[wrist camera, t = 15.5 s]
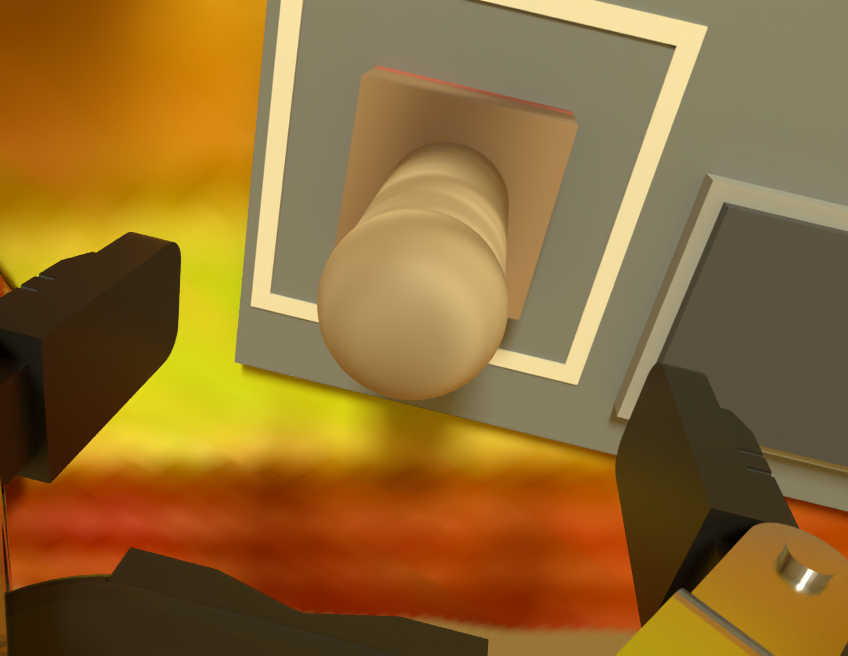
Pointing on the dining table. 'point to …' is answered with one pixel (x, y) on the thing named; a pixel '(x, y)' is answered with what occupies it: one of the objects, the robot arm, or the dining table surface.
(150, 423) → the dining table surface
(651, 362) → the desk board
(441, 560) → the dining table surface
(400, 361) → the stamp
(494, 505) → the dining table surface
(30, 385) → the robot arm
